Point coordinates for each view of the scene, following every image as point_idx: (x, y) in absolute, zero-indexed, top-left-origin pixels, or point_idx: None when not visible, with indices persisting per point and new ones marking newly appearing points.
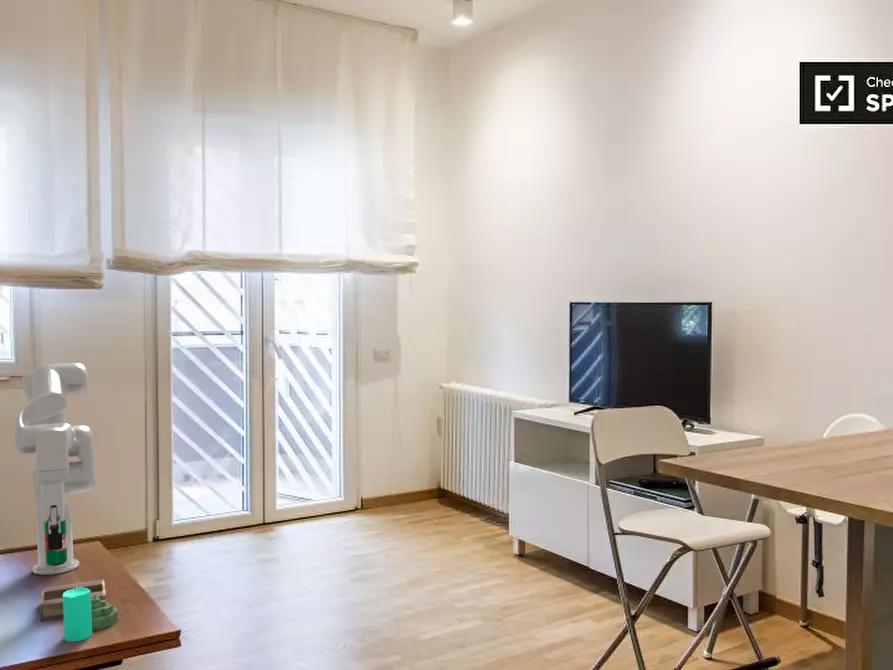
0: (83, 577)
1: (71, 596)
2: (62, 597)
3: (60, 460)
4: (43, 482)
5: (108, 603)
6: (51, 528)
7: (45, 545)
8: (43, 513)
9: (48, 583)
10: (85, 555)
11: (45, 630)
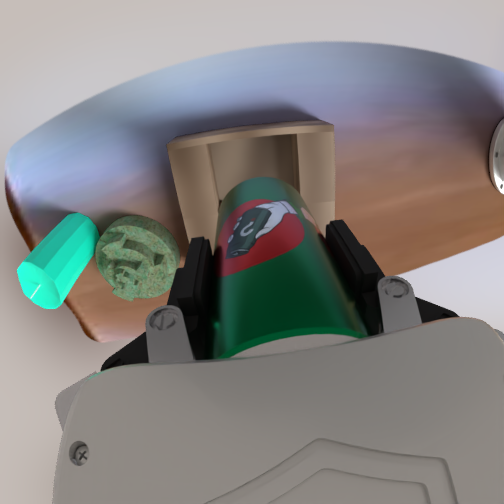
0: (450, 200)
1: (28, 276)
2: (294, 173)
3: None
4: None
5: (141, 294)
6: (104, 368)
7: (244, 219)
8: (57, 464)
9: (454, 134)
10: None
11: (116, 163)
